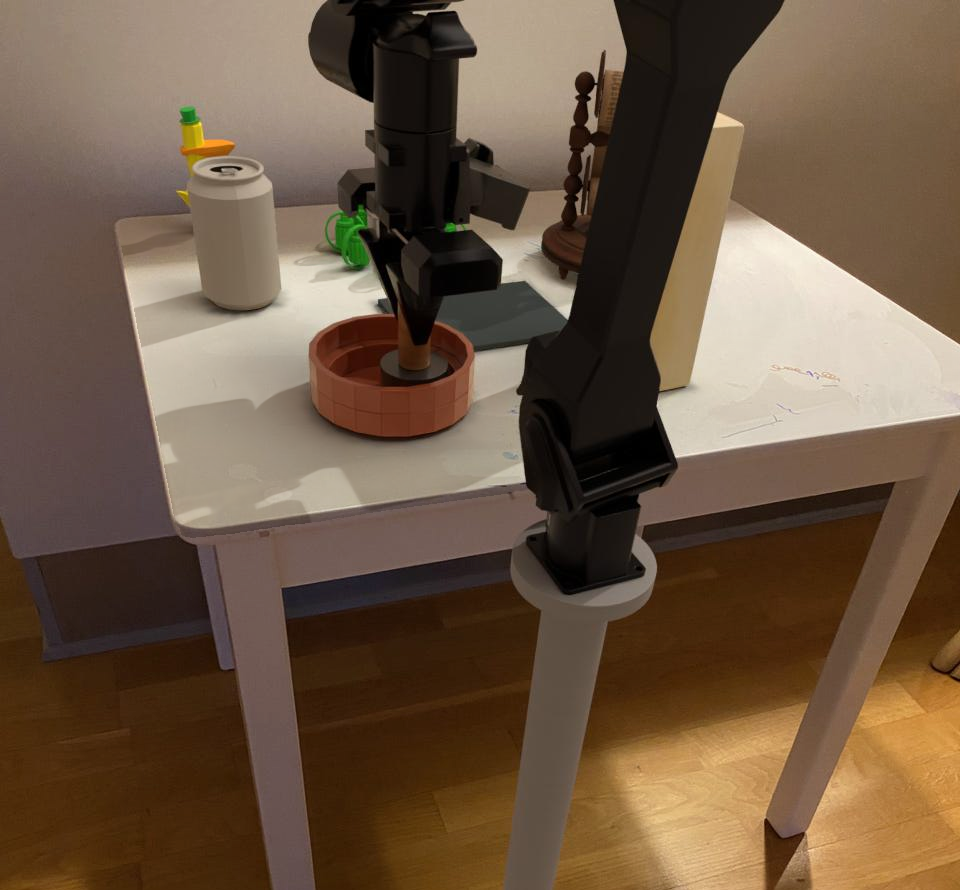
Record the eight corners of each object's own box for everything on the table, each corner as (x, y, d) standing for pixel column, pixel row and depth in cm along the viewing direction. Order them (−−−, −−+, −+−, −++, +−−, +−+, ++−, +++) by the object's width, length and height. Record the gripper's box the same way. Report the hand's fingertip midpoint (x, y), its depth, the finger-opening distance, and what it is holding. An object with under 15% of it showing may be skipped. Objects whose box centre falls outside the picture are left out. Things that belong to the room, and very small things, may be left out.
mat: (579, 335, 89) (580, 330, 89) (422, 359, 84) (422, 354, 83) (524, 285, 97) (525, 280, 96) (377, 303, 91) (377, 298, 91)
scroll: (671, 247, 107) (711, 43, 93) (679, 300, 96) (725, 79, 82) (543, 234, 107) (563, 30, 94) (536, 287, 97) (558, 64, 83)
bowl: (496, 426, 76) (501, 375, 73) (340, 454, 72) (337, 401, 69) (436, 353, 85) (437, 305, 82) (293, 375, 80) (289, 324, 77)
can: (273, 278, 94) (261, 149, 86) (290, 309, 89) (278, 175, 81) (197, 285, 92) (177, 153, 84) (210, 318, 87) (190, 181, 79)
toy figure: (239, 220, 105) (225, 100, 97) (247, 232, 103) (234, 110, 95) (178, 227, 103) (158, 104, 94) (185, 238, 100) (166, 114, 92)
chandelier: (331, 225, 105) (328, 159, 101) (464, 231, 106) (467, 166, 102) (320, 280, 95) (316, 209, 90) (468, 286, 96) (471, 216, 91)
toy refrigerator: (573, 359, 85) (608, 101, 71) (641, 347, 88) (688, 96, 74) (619, 400, 80) (666, 131, 66) (689, 386, 83) (750, 125, 68)
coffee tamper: (457, 401, 77) (462, 288, 71) (394, 412, 76) (392, 298, 69) (433, 370, 81) (434, 260, 75) (371, 380, 79) (368, 268, 73)
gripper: (582, 155, 61) (555, 375, 72) (468, 81, 73) (459, 279, 84) (423, 168, 57) (420, 398, 68) (331, 88, 69) (340, 294, 80)
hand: (413, 336), depth 75 cm, fingers closed on coffee tamper, 2 cm apart
